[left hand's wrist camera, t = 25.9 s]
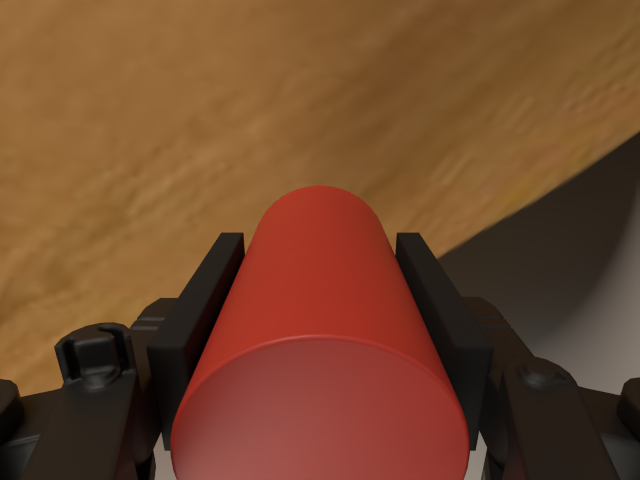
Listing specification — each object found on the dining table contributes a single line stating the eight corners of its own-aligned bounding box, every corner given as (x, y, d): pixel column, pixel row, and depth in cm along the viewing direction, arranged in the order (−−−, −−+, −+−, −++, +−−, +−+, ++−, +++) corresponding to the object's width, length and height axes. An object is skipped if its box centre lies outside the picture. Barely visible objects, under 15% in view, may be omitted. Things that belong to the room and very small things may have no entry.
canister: (231, 266, 17) (120, 494, 7) (299, 158, 15) (266, 276, 6) (337, 327, 18) (357, 593, 8) (412, 231, 16) (536, 430, 7)
